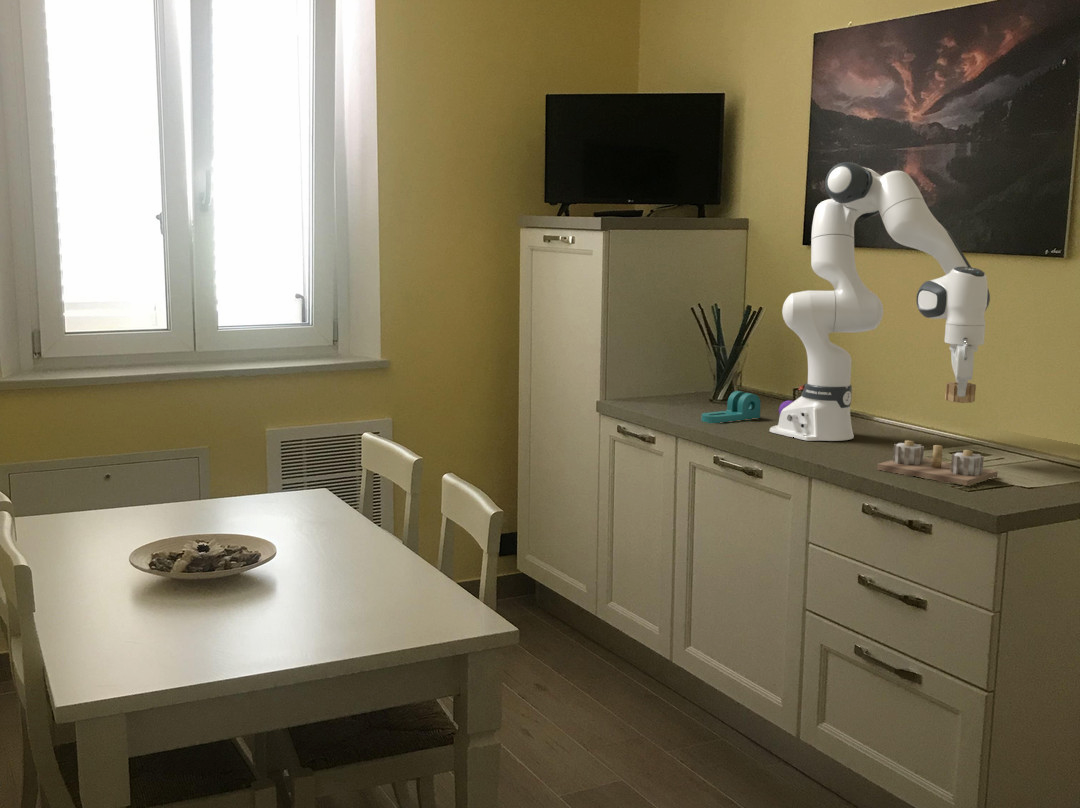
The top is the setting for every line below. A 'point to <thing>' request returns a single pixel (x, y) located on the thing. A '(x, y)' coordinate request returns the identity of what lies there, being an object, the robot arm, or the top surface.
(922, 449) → the gear board
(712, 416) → the bracket
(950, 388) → the oak gear
